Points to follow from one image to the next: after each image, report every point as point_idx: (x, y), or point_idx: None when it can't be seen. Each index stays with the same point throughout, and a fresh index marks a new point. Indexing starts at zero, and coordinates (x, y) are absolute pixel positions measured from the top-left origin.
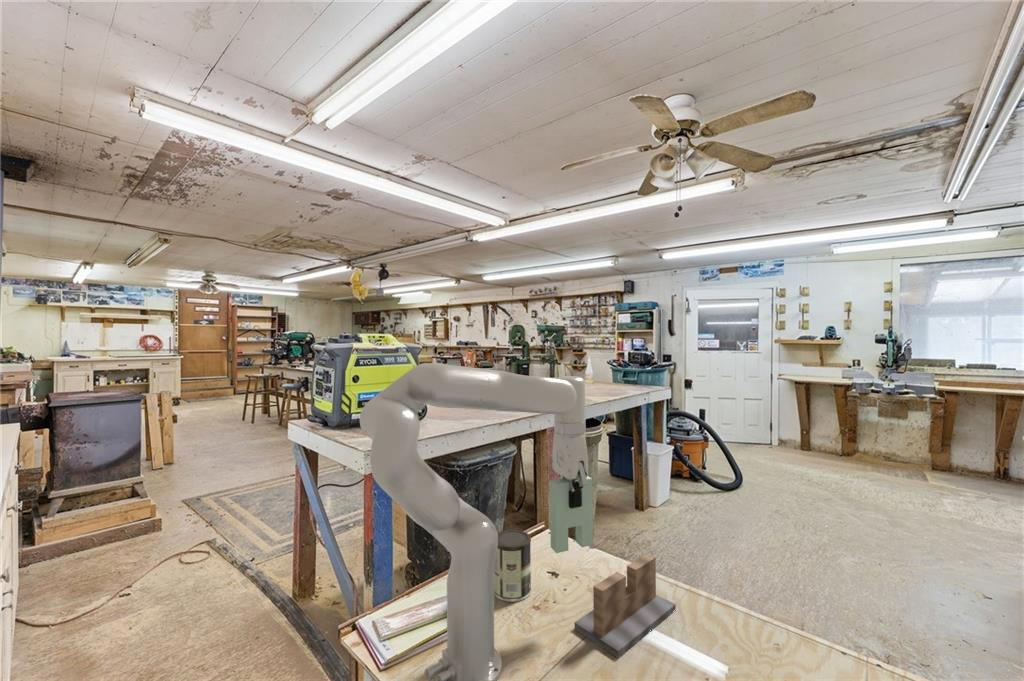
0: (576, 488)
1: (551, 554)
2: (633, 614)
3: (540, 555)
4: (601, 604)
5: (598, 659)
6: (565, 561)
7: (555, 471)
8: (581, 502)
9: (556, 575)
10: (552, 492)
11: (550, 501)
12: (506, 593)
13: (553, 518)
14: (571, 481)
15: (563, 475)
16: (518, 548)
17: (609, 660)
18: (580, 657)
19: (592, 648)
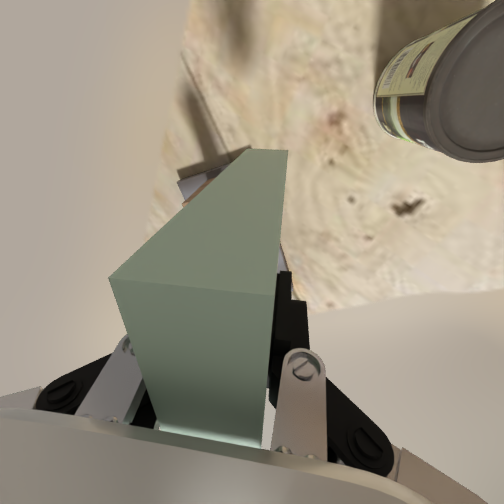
0: (89, 365)
1: (467, 240)
2: None
3: (484, 219)
4: (193, 194)
5: (185, 152)
6: (424, 248)
7: (332, 478)
8: None
9: (398, 209)
10: (221, 227)
11: (273, 199)
12: (400, 55)
13: (248, 173)
14: (93, 405)
15: (74, 448)
16: (428, 81)
17: (180, 165)
18: (195, 128)
19: (207, 157)
